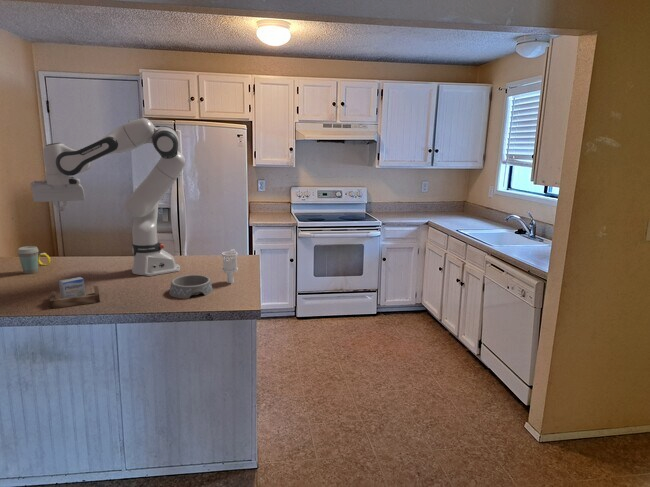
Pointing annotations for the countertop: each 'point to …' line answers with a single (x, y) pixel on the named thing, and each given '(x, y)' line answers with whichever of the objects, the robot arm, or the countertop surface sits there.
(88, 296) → the brown u-shaped frame
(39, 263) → the watch
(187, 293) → the dog bowl
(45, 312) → the countertop surface
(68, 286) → the medicine box
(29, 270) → the coffee cup
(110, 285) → the countertop surface
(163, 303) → the countertop surface
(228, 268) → the white stemmed cylinder
